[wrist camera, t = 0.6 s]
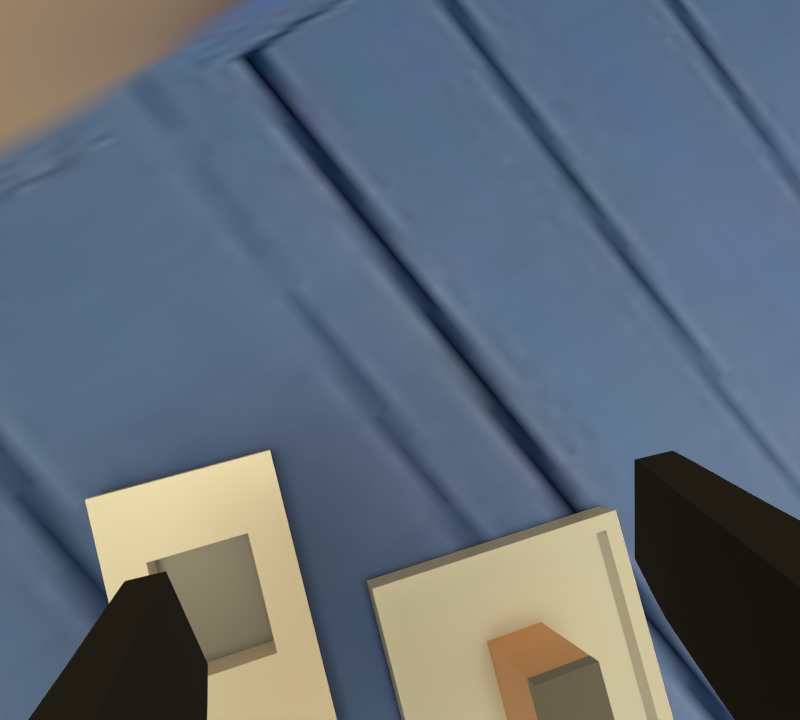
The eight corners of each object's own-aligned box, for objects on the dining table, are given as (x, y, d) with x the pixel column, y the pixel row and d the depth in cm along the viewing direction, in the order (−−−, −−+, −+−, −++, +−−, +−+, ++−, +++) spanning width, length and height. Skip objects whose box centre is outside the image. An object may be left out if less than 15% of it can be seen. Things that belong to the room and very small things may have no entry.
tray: (664, 747, 35) (685, 764, 33) (433, 845, 32) (443, 868, 31) (598, 506, 36) (615, 510, 34) (366, 580, 33) (372, 589, 31)
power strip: (360, 817, 32) (369, 850, 29) (190, 885, 30) (183, 927, 27) (269, 449, 33) (270, 450, 30) (98, 494, 31) (84, 499, 28)
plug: (562, 700, 34) (624, 756, 28) (507, 721, 33) (560, 783, 27) (541, 621, 34) (598, 661, 28) (486, 641, 33) (534, 685, 27)
